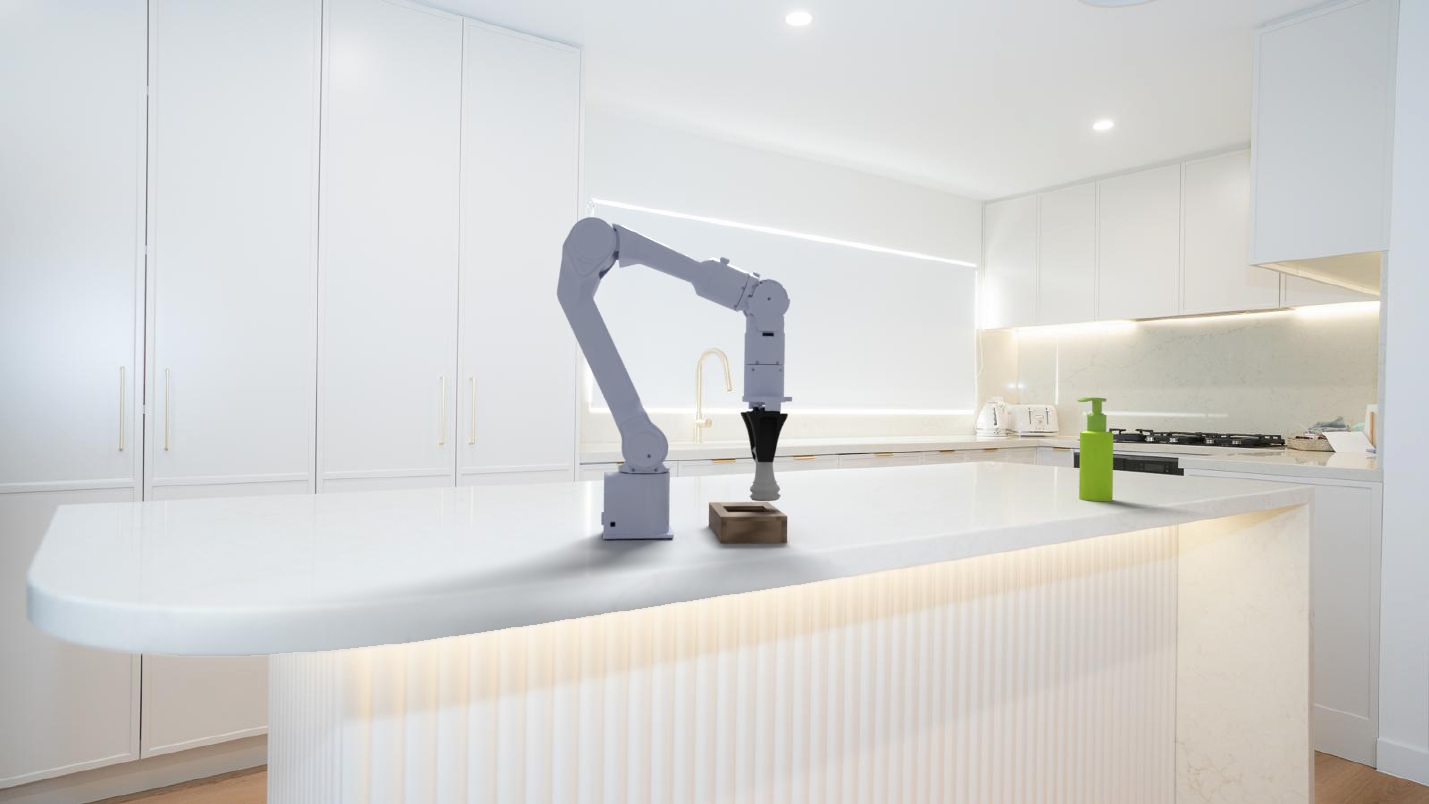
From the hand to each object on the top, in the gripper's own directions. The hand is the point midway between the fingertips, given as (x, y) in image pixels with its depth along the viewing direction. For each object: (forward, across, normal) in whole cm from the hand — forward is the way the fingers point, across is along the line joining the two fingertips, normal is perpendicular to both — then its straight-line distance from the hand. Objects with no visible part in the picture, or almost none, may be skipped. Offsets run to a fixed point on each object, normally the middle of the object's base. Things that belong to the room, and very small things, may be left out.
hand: (762, 461), depth 110 cm
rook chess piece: (+6, 0, 0) cm, 6 cm away
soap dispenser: (+10, +33, -72) cm, 80 cm away
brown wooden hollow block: (+10, 0, +2) cm, 11 cm away
